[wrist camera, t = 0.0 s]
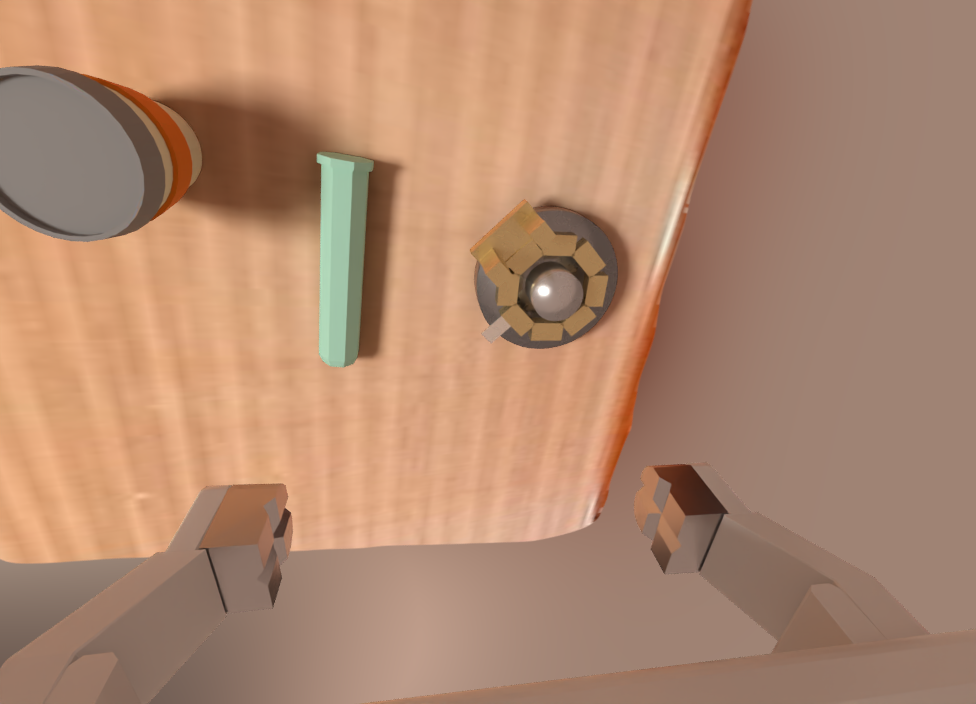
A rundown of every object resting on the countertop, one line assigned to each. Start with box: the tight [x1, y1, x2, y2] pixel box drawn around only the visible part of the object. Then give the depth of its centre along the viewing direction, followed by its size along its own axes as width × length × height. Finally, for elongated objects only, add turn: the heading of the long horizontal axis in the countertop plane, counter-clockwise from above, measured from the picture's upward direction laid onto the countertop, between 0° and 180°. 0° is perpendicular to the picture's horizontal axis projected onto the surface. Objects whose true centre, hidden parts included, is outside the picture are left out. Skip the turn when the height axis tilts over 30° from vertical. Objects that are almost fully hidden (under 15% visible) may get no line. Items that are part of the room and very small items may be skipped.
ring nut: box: [470, 199, 608, 341], centre depth 53 cm, size 17×13×7 cm
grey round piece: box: [474, 206, 618, 349], centre depth 56 cm, size 18×18×8 cm
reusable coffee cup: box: [0, 66, 202, 242], centre depth 40 cm, size 12×12×15 cm
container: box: [317, 152, 374, 367], centre depth 53 cm, size 6×6×25 cm
